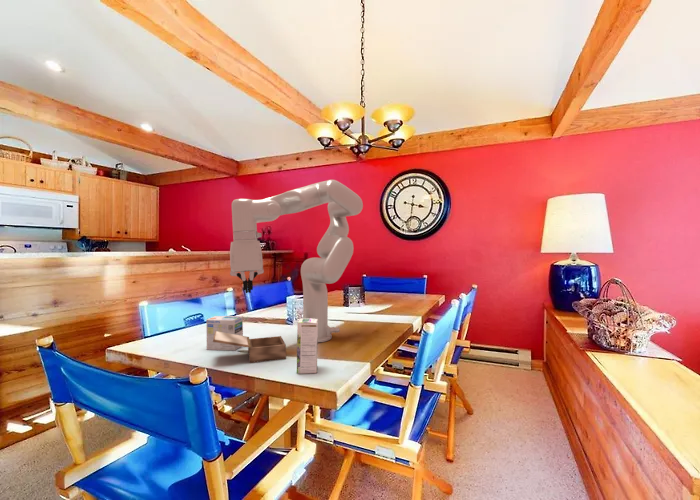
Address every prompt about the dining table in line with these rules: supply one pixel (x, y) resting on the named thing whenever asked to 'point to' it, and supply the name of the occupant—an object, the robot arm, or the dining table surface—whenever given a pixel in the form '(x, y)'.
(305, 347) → the syrup box
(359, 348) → the dining table surface
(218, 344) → the light bulb box
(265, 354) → the box
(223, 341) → the lid
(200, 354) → the dining table surface
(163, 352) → the dining table surface
